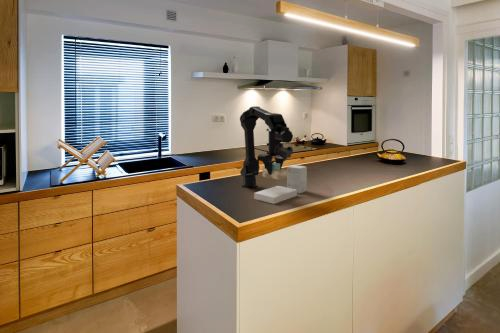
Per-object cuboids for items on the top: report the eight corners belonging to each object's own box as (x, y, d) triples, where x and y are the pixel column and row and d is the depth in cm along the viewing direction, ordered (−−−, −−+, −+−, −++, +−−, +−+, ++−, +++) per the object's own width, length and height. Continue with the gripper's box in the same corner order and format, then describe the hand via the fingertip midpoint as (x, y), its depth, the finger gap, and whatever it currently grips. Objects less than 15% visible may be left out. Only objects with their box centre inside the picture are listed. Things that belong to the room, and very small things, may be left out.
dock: (253, 198, 151) (253, 192, 150) (277, 191, 164) (277, 185, 163) (273, 203, 143) (274, 197, 142) (296, 195, 155) (297, 189, 155)
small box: (306, 191, 163) (307, 166, 161) (299, 193, 159) (300, 168, 156) (293, 188, 169) (294, 164, 166) (286, 191, 164) (286, 166, 162)
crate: (268, 169, 150) (268, 163, 150) (273, 168, 153) (273, 162, 153) (274, 170, 148) (274, 164, 147) (280, 169, 151) (280, 163, 150)
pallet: (262, 176, 152) (262, 169, 152) (270, 174, 157) (270, 167, 156) (278, 179, 146) (279, 172, 145) (286, 177, 150) (286, 170, 149)
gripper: (275, 144, 136) (275, 179, 139) (300, 140, 149) (299, 173, 152) (256, 142, 144) (256, 176, 146) (281, 139, 157) (281, 170, 160)
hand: (274, 173), depth 151 cm, fingers closed on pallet, 6 cm apart
